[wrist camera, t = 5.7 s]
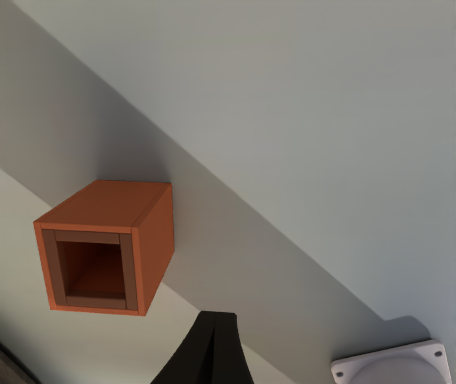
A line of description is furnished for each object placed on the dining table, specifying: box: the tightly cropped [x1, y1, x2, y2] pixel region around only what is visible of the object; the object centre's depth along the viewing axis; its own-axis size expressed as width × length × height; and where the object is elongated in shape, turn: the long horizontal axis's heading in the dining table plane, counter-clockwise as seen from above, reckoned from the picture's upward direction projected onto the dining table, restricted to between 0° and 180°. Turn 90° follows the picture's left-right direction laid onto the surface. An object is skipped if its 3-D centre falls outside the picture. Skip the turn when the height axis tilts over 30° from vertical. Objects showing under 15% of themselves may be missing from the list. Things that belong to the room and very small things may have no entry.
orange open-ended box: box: [33, 180, 174, 316], centre depth 19 cm, size 6×5×5 cm
